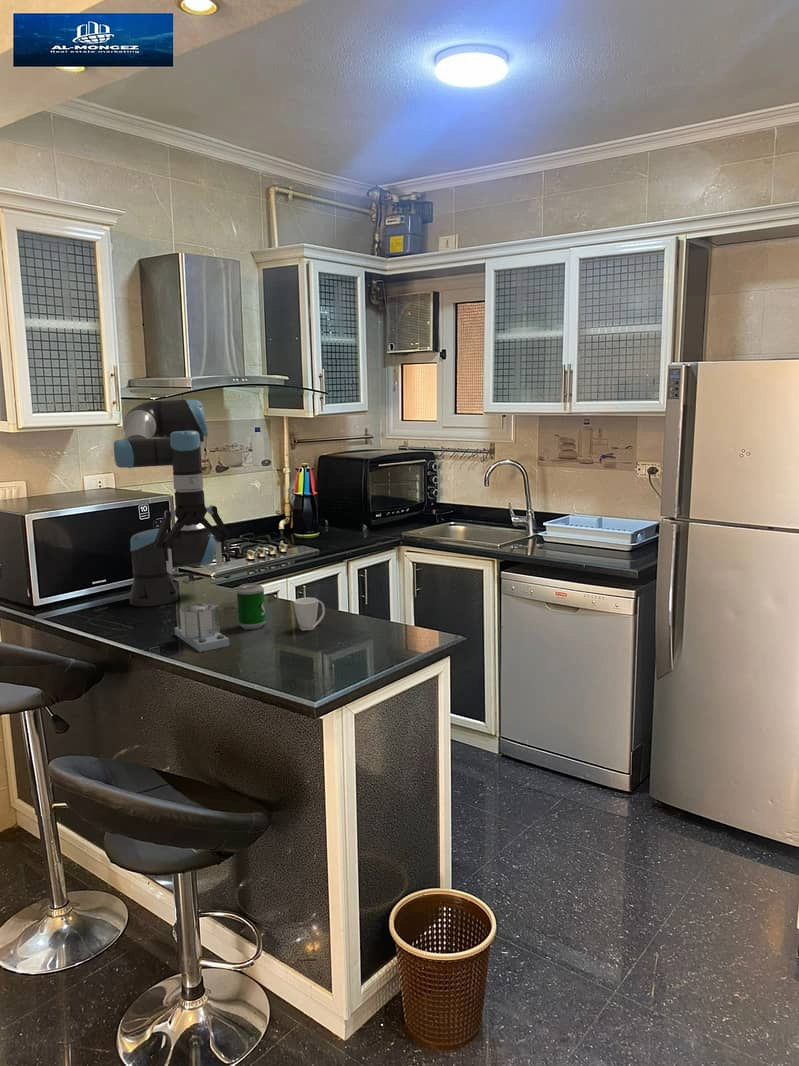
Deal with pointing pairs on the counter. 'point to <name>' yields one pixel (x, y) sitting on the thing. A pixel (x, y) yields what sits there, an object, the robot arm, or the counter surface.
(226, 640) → the block
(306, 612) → the cup
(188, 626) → the grey hollow octagonal piece
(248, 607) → the soda can
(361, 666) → the counter surface
